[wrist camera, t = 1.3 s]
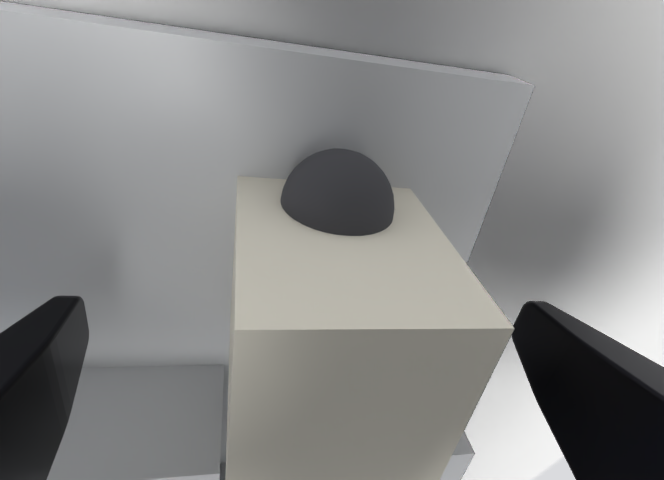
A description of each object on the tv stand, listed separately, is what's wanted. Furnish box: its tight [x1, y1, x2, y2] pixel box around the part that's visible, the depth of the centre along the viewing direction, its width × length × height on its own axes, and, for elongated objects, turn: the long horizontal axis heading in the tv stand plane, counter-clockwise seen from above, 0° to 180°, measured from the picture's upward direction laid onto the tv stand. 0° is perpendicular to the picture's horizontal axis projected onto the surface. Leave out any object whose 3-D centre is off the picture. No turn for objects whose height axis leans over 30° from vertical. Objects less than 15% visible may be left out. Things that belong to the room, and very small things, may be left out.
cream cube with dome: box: [225, 148, 515, 480], centre depth 10 cm, size 10×4×4 cm, turn 171°
